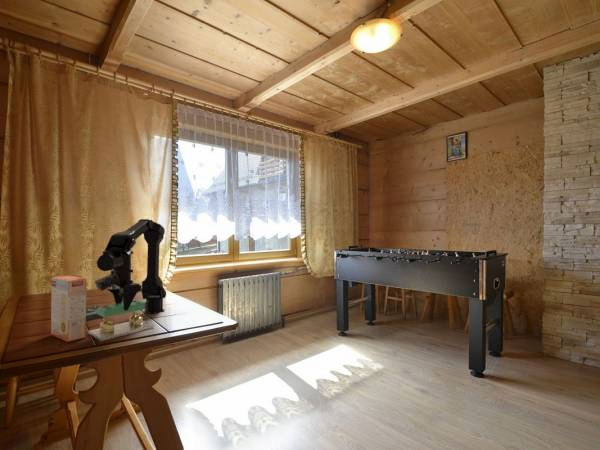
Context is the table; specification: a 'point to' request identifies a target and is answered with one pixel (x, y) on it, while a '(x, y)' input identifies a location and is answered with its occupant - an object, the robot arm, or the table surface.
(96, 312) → the disk drive
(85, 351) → the table surface
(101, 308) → the board
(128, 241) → the robot arm
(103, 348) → the table surface
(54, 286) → the cracker box
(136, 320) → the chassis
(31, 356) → the table surface
